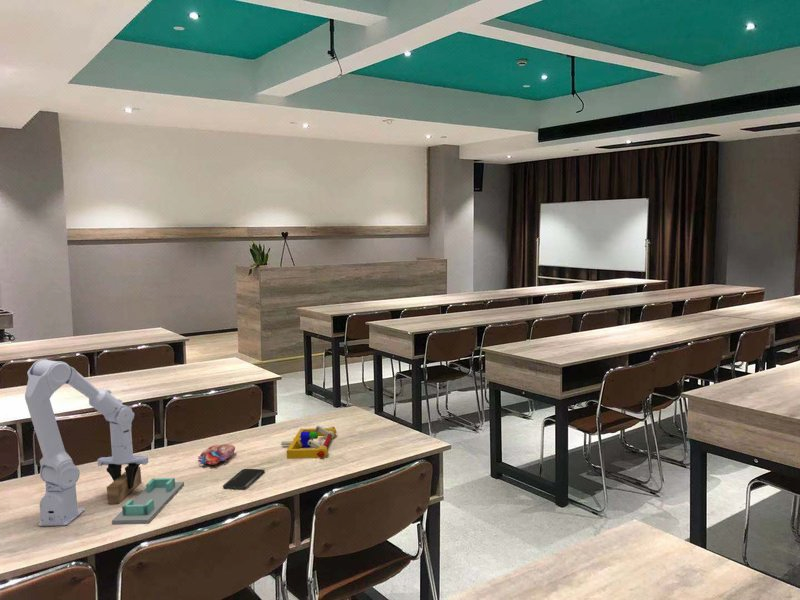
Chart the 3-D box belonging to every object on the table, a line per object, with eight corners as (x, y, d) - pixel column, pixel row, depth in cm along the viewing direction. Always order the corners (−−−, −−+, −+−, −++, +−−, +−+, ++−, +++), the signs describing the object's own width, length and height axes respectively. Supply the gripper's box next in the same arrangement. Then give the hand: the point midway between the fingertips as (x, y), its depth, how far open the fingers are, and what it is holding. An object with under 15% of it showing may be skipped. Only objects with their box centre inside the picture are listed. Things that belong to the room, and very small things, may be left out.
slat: (118, 503, 180) (117, 486, 180) (108, 503, 180) (106, 487, 180) (141, 482, 196) (140, 466, 196) (131, 482, 196) (130, 467, 196)
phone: (265, 469, 202) (245, 487, 187) (265, 472, 202) (245, 491, 187) (243, 468, 204) (221, 486, 189) (243, 471, 204) (221, 490, 189)
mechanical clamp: (337, 417, 241) (325, 442, 211) (338, 433, 242) (326, 460, 212) (290, 418, 242) (272, 443, 212) (291, 434, 242) (273, 461, 213)
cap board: (148, 523, 167) (147, 510, 167) (112, 524, 167) (111, 511, 167) (184, 485, 193) (183, 474, 193) (152, 485, 193) (151, 474, 193)
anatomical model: (204, 458, 221) (191, 464, 206) (206, 441, 221) (194, 446, 206) (235, 460, 221) (224, 467, 206) (237, 444, 221) (226, 449, 206)
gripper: (151, 439, 191) (154, 481, 192) (104, 440, 191) (107, 482, 192) (141, 446, 184) (144, 491, 185) (92, 447, 184) (96, 492, 185)
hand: (125, 487), depth 188 cm, fingers closed on slat, 3 cm apart
